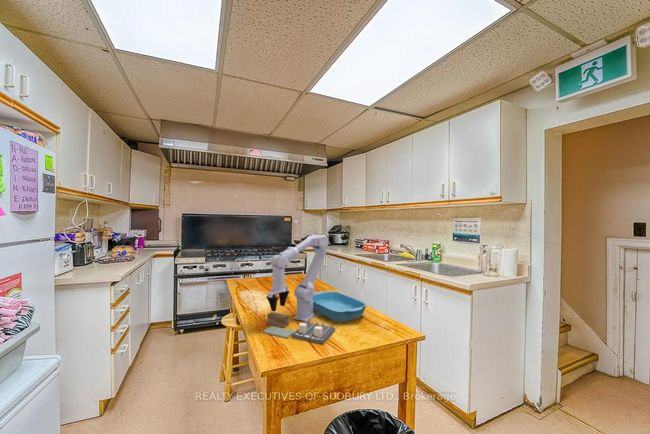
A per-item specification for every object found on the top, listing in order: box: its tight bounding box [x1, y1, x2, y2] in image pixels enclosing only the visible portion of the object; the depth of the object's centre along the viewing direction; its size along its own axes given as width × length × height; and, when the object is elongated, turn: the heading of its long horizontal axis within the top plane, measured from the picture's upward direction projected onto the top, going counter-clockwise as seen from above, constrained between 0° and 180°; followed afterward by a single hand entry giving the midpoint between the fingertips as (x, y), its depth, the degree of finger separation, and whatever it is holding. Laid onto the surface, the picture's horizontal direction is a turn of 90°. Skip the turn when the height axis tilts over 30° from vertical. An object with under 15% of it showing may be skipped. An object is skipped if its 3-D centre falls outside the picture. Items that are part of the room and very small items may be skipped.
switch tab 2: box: [314, 326, 323, 337], centre depth 114 cm, size 2×3×3 cm
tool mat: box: [261, 325, 295, 339], centre depth 119 cm, size 6×13×1 cm, turn 67°
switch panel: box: [290, 319, 336, 345], centre depth 119 cm, size 14×15×2 cm
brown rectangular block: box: [266, 311, 290, 329], centre depth 128 cm, size 4×10×5 cm, turn 66°
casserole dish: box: [312, 290, 367, 323], centre depth 146 cm, size 37×22×7 cm, turn 35°
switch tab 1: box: [297, 322, 307, 333], centre depth 117 cm, size 2×3×3 cm
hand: (278, 308), depth 128 cm, fingers open, 7 cm apart
